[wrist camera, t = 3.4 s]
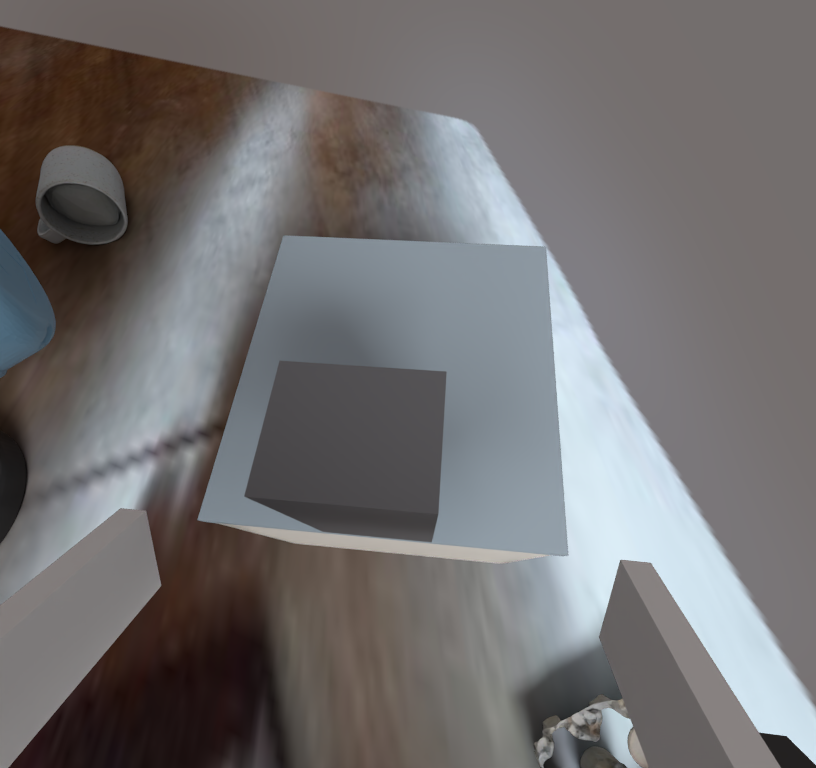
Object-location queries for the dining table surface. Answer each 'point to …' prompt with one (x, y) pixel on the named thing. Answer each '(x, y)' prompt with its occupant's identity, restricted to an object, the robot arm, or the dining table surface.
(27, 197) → the dining table surface
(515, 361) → the lid
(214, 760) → the dining table surface
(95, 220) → the ceramic mug
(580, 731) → the grey piece
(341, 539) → the storage box
